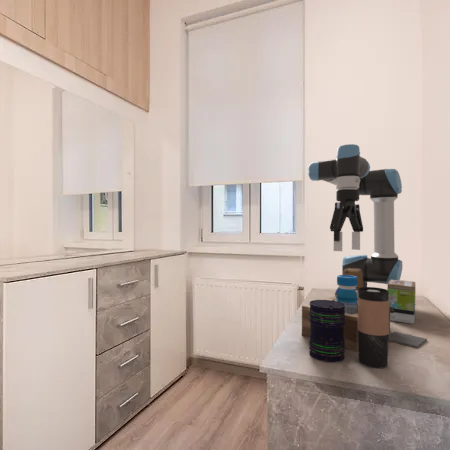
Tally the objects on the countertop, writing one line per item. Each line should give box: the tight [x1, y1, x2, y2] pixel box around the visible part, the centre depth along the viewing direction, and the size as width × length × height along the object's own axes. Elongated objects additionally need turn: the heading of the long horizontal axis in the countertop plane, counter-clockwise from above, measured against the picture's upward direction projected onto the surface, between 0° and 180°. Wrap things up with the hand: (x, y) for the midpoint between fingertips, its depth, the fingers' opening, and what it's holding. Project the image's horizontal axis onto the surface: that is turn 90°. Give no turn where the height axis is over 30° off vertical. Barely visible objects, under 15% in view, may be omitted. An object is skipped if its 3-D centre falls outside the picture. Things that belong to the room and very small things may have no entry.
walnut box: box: [301, 295, 391, 352], centre depth 110 cm, size 27×19×10 cm
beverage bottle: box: [334, 274, 359, 315], centre depth 111 cm, size 8×8×20 cm
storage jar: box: [308, 299, 346, 364], centre depth 91 cm, size 10×10×15 cm
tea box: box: [386, 279, 417, 325], centre depth 131 cm, size 15×10×15 cm, turn 149°
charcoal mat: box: [388, 330, 428, 349], centre depth 104 cm, size 10×10×1 cm
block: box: [343, 268, 363, 292], centre depth 131 cm, size 11×8×20 cm
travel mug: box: [358, 286, 390, 369], centre depth 87 cm, size 8×8×20 cm
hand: (347, 250), depth 111 cm, fingers open, 13 cm apart
